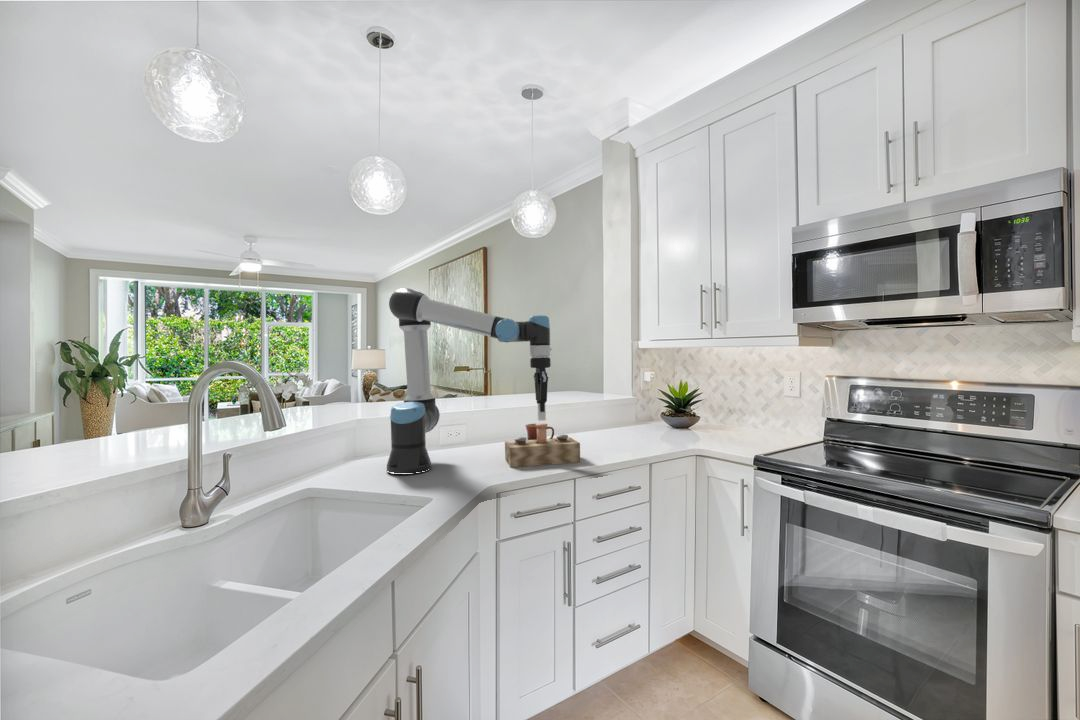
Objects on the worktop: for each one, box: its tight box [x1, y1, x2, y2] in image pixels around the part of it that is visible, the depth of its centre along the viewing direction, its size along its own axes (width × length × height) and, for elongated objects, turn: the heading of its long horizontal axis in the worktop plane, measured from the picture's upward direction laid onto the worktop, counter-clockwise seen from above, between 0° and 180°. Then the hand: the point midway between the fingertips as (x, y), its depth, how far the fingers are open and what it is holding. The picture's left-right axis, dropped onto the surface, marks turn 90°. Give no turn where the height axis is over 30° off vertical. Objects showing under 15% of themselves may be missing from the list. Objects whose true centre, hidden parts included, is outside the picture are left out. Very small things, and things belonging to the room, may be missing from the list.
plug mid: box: [535, 422, 548, 444], centre depth 175 cm, size 4×4×9 cm
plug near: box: [514, 436, 527, 445], centre depth 173 cm, size 4×4×9 cm
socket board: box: [504, 437, 581, 468], centre depth 175 cm, size 26×12×7 cm, turn 103°
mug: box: [524, 423, 555, 440], centre depth 195 cm, size 12×9×10 cm
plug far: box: [556, 434, 569, 443], centre depth 177 cm, size 4×4×9 cm
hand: (541, 420), depth 175 cm, fingers closed
